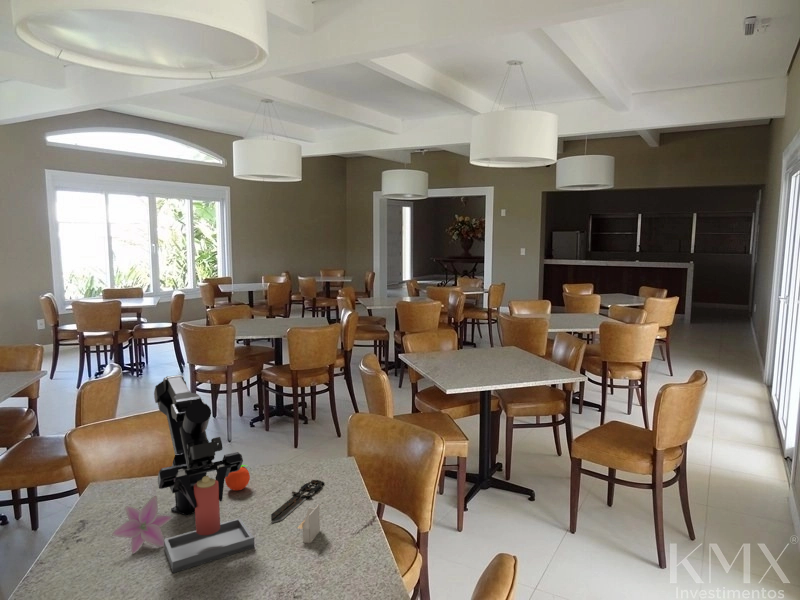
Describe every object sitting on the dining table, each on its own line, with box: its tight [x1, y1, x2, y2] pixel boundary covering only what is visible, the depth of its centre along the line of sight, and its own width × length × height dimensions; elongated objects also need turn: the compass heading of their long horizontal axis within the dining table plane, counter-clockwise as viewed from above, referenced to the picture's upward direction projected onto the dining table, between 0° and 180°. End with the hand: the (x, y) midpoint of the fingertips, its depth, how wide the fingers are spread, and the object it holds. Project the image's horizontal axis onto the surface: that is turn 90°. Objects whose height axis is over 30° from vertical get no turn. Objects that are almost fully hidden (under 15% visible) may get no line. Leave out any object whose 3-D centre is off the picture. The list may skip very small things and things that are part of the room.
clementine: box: [224, 464, 252, 492], centre depth 158 cm, size 8×7×7 cm
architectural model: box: [296, 503, 321, 544], centre depth 133 cm, size 3×7×7 cm, turn 164°
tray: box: [163, 517, 255, 574], centre depth 128 cm, size 11×18×2 cm, turn 123°
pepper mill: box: [194, 475, 221, 535], centre depth 127 cm, size 5×5×13 cm
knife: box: [270, 479, 325, 524], centre depth 150 cm, size 25×6×1 cm, turn 154°
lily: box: [110, 495, 173, 554], centre depth 130 cm, size 12×12×10 cm
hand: (208, 504), depth 125 cm, fingers closed on pepper mill, 5 cm apart
